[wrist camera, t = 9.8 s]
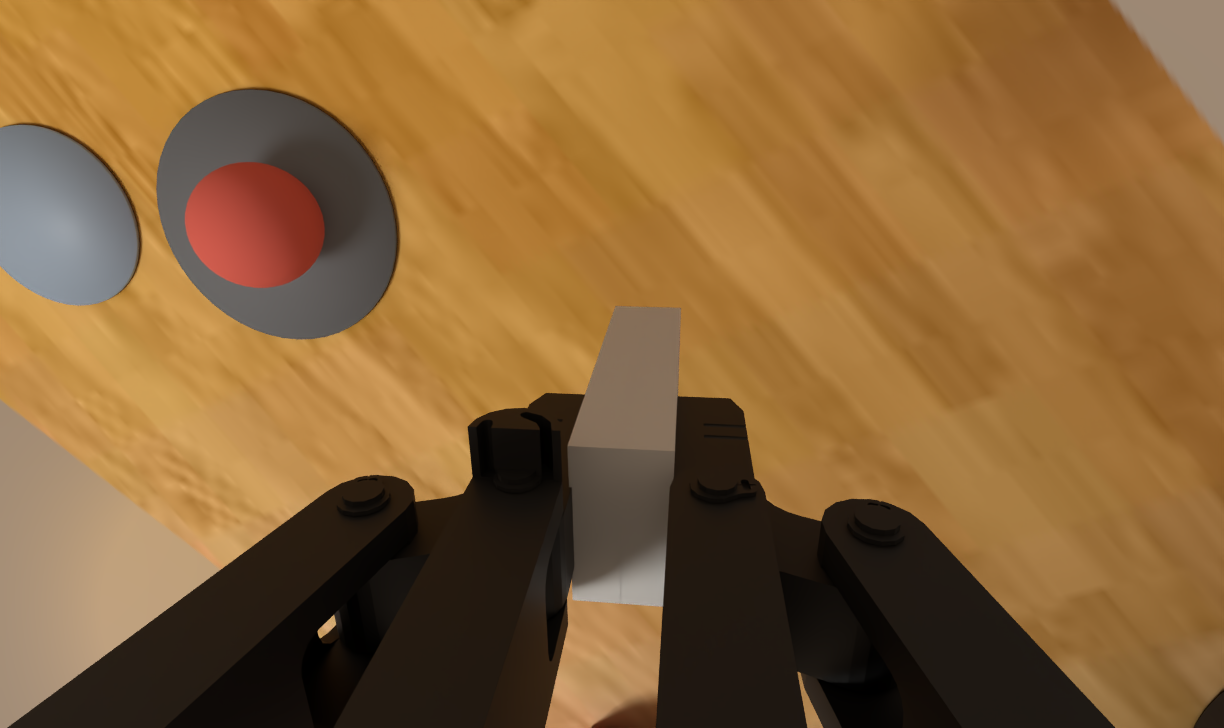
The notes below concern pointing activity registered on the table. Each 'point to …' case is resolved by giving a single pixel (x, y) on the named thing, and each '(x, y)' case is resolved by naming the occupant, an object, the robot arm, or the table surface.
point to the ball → (254, 224)
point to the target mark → (332, 174)
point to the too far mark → (63, 218)
